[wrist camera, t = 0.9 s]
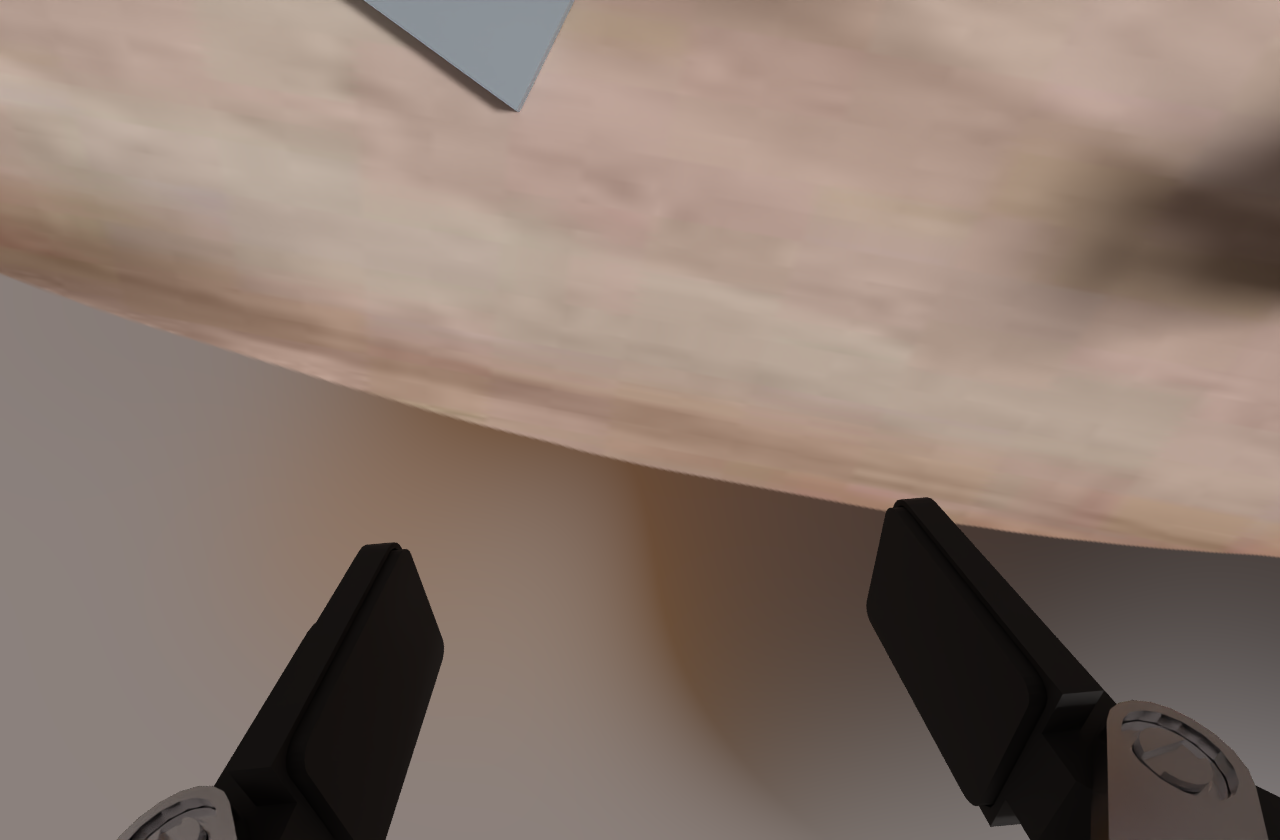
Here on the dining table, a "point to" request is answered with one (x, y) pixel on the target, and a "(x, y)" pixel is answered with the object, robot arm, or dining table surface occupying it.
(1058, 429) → the dining table surface
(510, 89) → the carrier board
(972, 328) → the dining table surface
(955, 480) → the dining table surface
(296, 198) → the dining table surface
